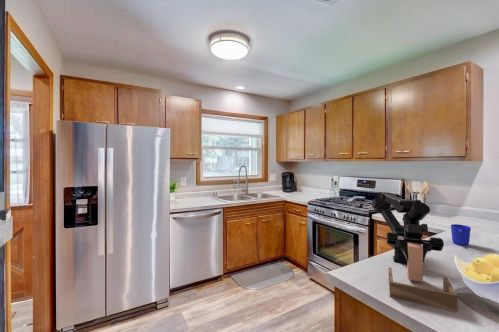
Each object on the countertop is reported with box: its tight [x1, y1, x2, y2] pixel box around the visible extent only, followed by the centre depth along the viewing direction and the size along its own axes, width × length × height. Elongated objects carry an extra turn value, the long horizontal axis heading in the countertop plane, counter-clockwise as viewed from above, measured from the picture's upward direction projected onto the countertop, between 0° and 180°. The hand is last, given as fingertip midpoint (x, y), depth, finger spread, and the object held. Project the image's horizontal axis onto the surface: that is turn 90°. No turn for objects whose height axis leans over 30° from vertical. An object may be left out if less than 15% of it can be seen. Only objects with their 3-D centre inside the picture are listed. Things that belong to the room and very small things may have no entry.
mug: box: [450, 223, 472, 247], centre depth 129 cm, size 8×12×10 cm
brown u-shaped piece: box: [387, 266, 459, 313], centre depth 83 cm, size 13×18×5 cm
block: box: [406, 242, 424, 283], centre depth 92 cm, size 4×4×13 cm
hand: (415, 261), depth 91 cm, fingers closed on block, 4 cm apart
